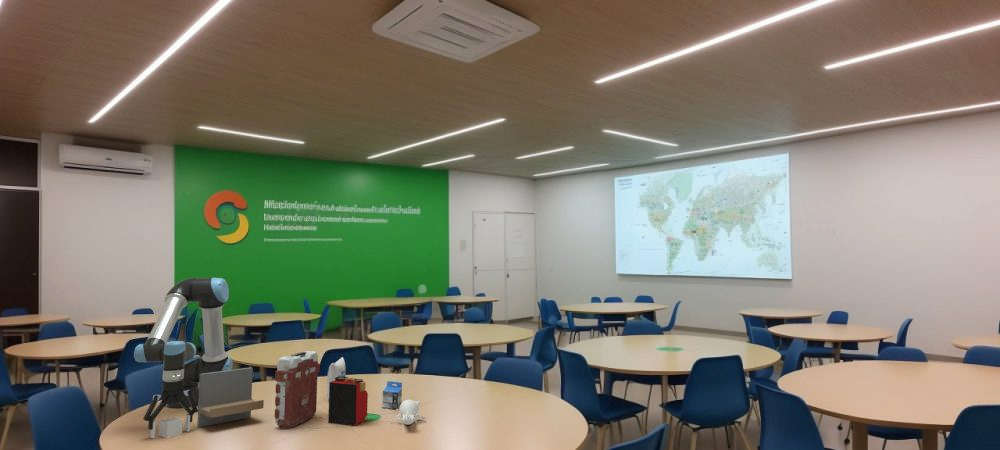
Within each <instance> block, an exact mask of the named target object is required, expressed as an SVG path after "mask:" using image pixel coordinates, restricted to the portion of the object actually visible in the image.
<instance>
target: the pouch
mask: <svg viewBox="0 0 1000 450" xmlns="http://www.w3.org/2000/svg"><path fill="white" fill-rule="evenodd" d="M345 361H346V360H345V359H344V357H343V356H342V357H340V359H338V360H337V361H335V362H332V363H331V364H330V365H329V367H328V370H327V378H326V379H327V381H326V395H327V400H328V401H329V382H331V381H335V378H336V377H342V376H344V377H347V376H346V372H347V369H346V368H347V367H346V362H345Z"/></svg>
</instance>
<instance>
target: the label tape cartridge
mask: <svg viewBox="0 0 1000 450" xmlns="http://www.w3.org/2000/svg"><path fill="white" fill-rule="evenodd" d="M402 394H403V382H402V381H401V382H398V381H390V380H387V381H386V386H385V388H384V389H383V390H382V405H381V407H382V409H386V408H390V409H389V410H395V409H399V408H400V405H401V403H402V402H403V401H402V400H403V399H402V397H403V395H402Z"/></svg>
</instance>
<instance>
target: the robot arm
mask: <svg viewBox="0 0 1000 450" xmlns="http://www.w3.org/2000/svg"><path fill="white" fill-rule="evenodd" d="M229 293H230V289H229V285H228V283H227V281H226V279H224V278H221V277H188V278H184V279H181V281H179V282H177V283H176V284H174V285H173V286H172V287H171V288H170V289H169V291H168V292H167V293H166V296H165V297H164V305H163V307H162V309H161V311H160V313H159V315H158V317H157V319H156V320H155V323H154V325H153V327H152V329H151V331H150V334H149V335H148V337H147V339H146V341H145V343H139V344H138V345H136V346H135V348H134V352H133V358H134V360H135V361H136V362H138V363H160V362H161V363H163V364H162V367H163V368H162V382H161V393H160V394H152V398H151V402H150V404H149V405H148V407H147V410H146V411H145V414H144V415H143V421H146V422H148V425H147V429H148V430H149V431H150V438H151V439H155V438H156V424H157V423H156V422H157V421H156V418H157V417H158V416H159V414H160V413H161V411H162V410H163V409H164V407H167V408H172V409H173V408H175V409H178V408H179V409H180V408H183V409H184V410H185V412H186V414H185V426H184V427H185V430H184V431H186V432H188V433H189V432H190V430H191V423H192V422H193V416H194V415H195V413H198V400H199V379H200V374H203V373H211V372H219V371H227V370H233V363H234V362H233V361H234V360H233V358H232V357H229V353H228V352H227V351H225V342H224V341H225V339H224V338H225V337H224V326H223V325H224V323H223V307H224V306H225V304H226V302H228V300H229ZM188 303H197V306H198V308H199V309H201V311H202V312H201V313H202V327H203V328H202V330H203V340H204V342H203V343H204V344H203V345H204V354H203V355H202V356H200V354H199V355H198V354H197V347H196V345H195V344H194V343H192V342H188V341H187V342H185V341H183V340H175V341H174V340H173V341H168V340H169V338H170V336H171V333H172V332H173V330H174V327H175V325H176V323H177V321H178V318H179V316H180V314H181V313H182V310H183V308H185V307H187V305H188ZM160 399H161V401H160V403H159V404H158V405H157V403H158V401H159V400H160ZM156 405H157V407H156ZM155 408H156V409H155Z"/></svg>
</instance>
